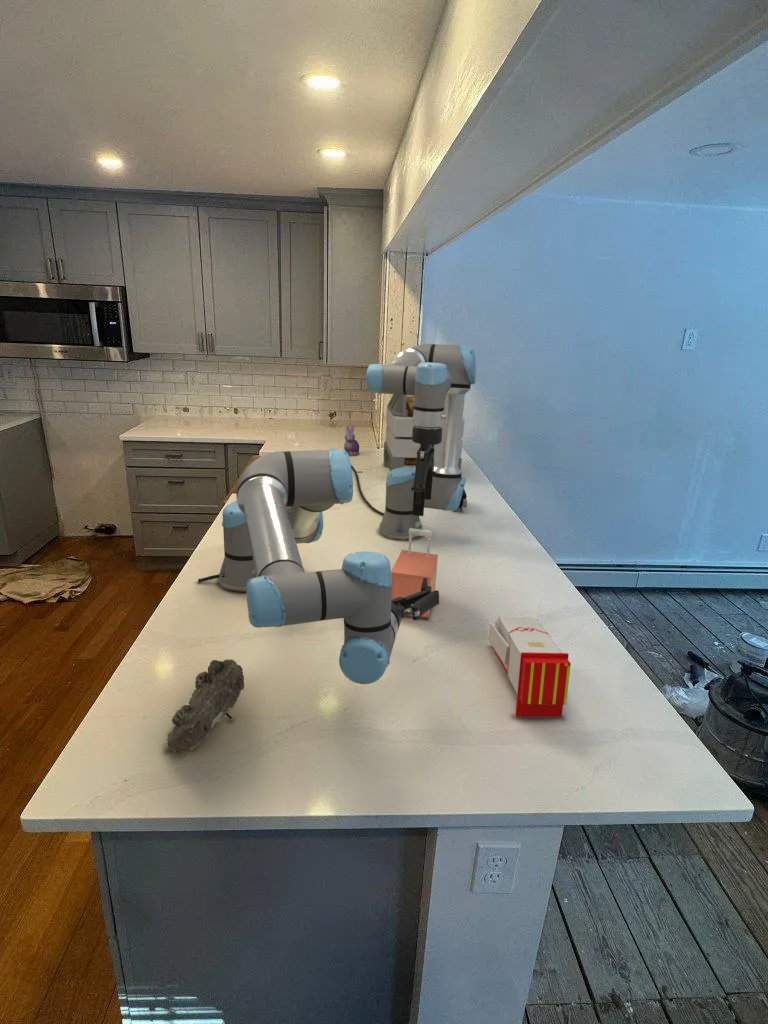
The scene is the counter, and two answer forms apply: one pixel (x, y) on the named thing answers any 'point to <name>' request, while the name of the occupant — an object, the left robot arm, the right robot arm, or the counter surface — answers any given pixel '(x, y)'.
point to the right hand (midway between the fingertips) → (422, 506)
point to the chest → (411, 587)
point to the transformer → (403, 433)
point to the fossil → (206, 705)
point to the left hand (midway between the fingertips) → (393, 584)
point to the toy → (531, 665)
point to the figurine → (351, 442)
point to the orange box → (416, 559)
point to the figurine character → (463, 501)
